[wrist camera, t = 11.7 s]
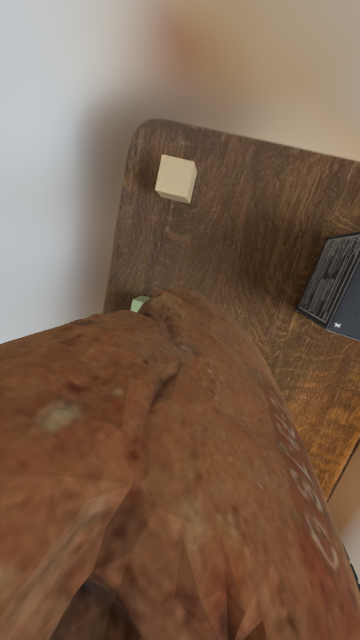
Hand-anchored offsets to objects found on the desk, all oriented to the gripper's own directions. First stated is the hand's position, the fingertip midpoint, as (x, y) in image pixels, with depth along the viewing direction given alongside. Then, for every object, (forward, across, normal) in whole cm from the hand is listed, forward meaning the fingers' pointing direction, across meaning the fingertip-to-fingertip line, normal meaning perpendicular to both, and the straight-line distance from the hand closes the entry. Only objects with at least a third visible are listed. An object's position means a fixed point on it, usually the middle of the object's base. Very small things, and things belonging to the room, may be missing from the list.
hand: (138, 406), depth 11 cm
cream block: (+28, -6, +15) cm, 32 cm away
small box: (+28, +17, +7) cm, 34 cm away
